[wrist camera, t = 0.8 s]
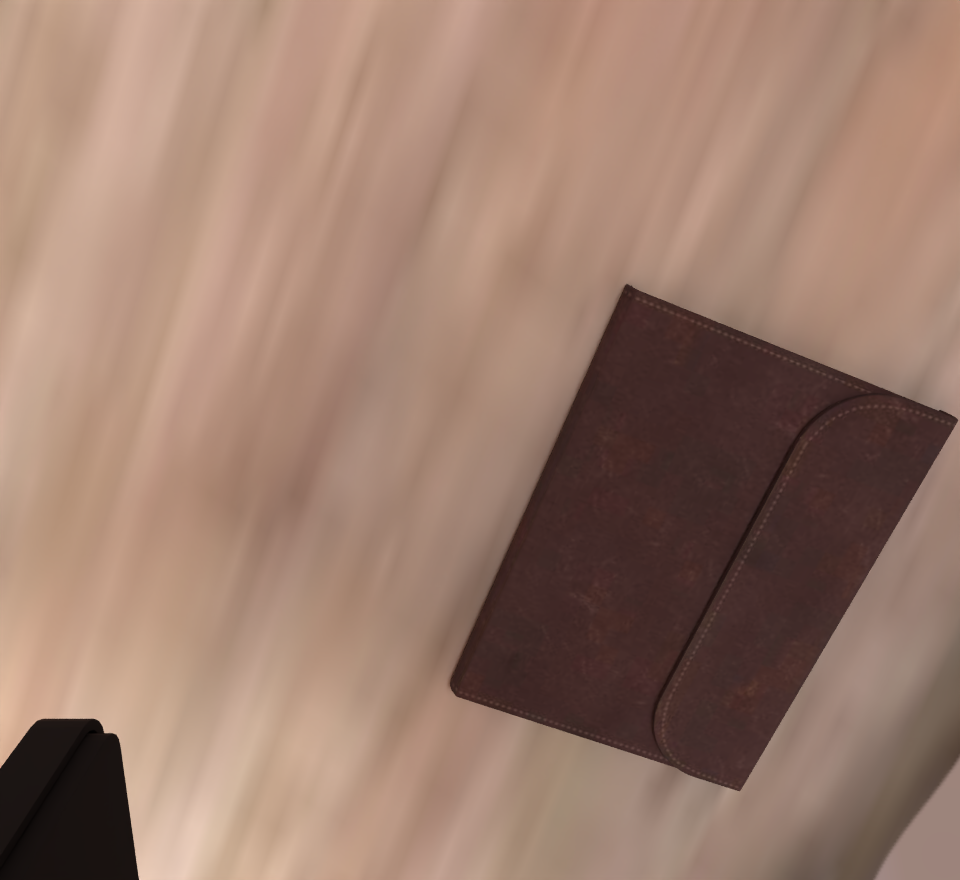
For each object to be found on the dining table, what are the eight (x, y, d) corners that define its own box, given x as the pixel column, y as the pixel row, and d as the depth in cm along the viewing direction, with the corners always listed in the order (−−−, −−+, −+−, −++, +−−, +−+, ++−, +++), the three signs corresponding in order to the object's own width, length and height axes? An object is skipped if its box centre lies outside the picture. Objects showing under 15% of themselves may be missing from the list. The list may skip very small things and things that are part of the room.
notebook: (449, 674, 41) (449, 700, 39) (623, 281, 35) (632, 289, 34) (734, 767, 43) (746, 795, 41) (941, 409, 37) (966, 423, 36)
